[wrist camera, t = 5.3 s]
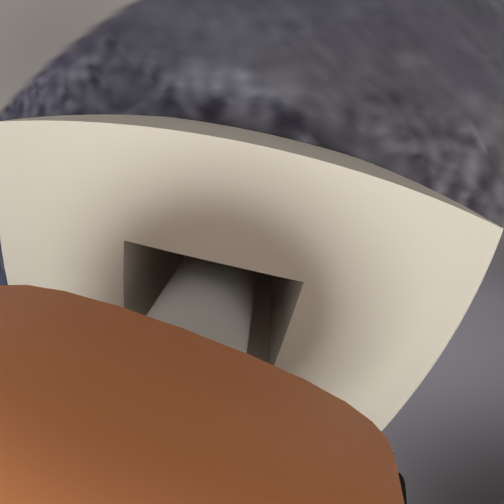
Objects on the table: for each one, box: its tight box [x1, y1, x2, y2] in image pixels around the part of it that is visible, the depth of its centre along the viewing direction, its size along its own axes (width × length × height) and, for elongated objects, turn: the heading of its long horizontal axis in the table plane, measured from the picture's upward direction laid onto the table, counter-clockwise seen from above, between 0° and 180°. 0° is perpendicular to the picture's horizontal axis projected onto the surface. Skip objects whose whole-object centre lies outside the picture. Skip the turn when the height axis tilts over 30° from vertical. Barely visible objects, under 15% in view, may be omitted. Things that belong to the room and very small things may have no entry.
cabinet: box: [0, 115, 503, 431], centre depth 8 cm, size 8×5×9 cm, turn 78°
